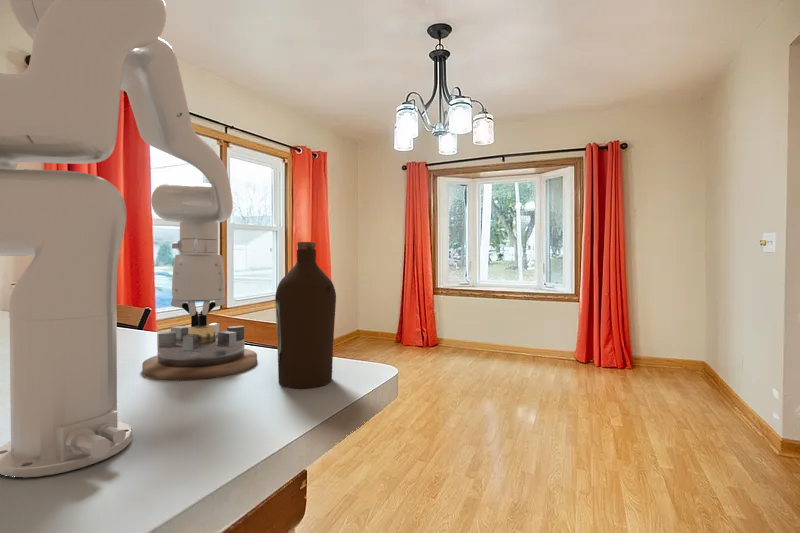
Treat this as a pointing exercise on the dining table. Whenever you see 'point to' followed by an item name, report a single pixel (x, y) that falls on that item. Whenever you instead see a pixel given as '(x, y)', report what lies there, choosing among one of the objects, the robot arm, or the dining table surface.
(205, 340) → the crenellated turret ring
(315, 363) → the olive oil
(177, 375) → the board
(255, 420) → the dining table surface
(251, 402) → the dining table surface
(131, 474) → the dining table surface
